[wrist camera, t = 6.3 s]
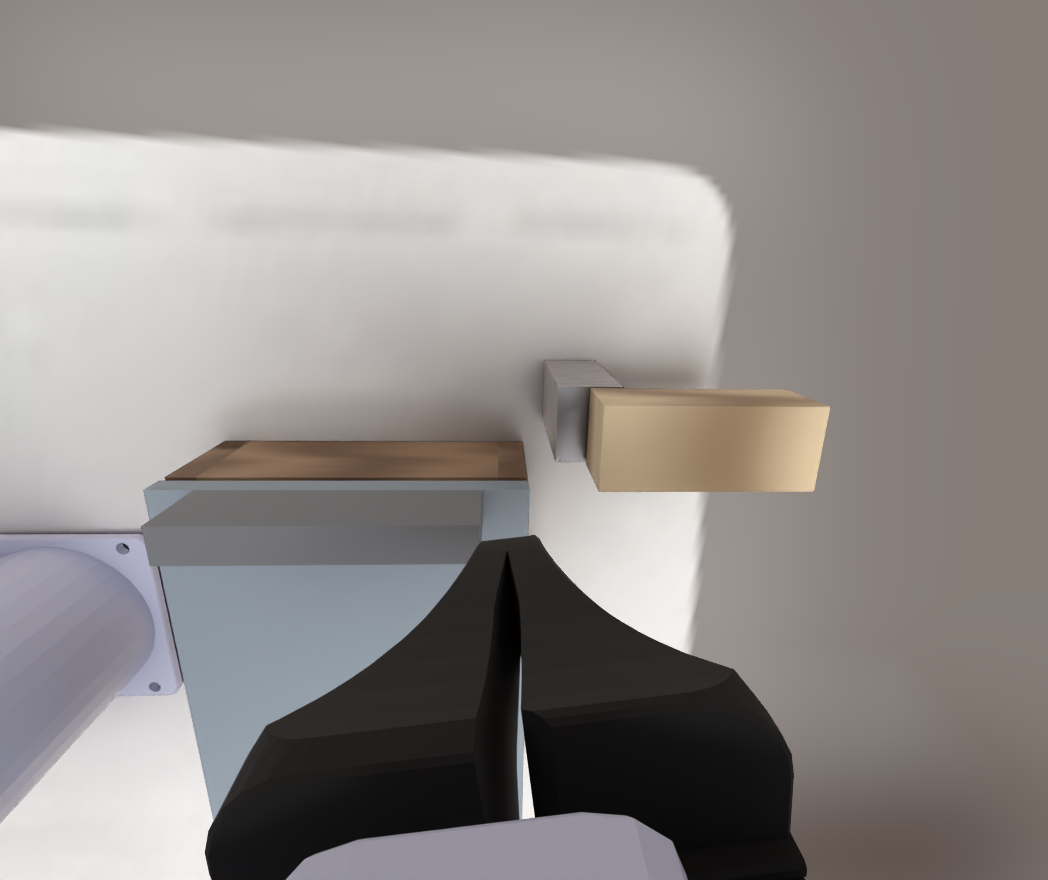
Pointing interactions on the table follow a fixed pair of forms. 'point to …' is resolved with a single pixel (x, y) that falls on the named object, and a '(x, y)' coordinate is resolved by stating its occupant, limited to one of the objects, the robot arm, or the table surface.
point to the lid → (305, 588)
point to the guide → (571, 404)
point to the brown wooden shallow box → (357, 461)
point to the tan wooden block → (704, 440)
